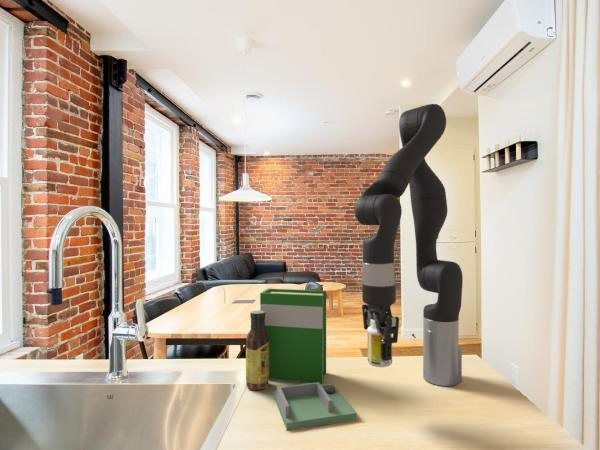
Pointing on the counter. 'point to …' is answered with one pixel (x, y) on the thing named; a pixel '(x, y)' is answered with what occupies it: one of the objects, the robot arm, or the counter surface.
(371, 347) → the supplement bottle
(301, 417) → the green plate with knob
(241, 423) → the counter surface
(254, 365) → the sauce bottle
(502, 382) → the counter surface
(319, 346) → the hardback book
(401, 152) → the robot arm
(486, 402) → the counter surface
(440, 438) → the counter surface
